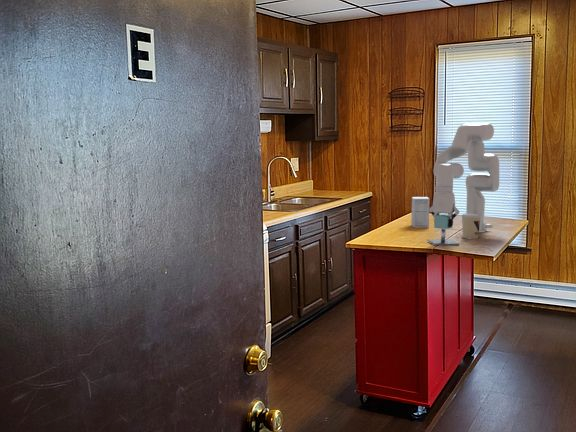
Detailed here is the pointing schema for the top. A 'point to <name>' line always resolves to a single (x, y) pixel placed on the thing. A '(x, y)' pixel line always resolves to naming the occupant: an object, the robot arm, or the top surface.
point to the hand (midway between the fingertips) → (443, 226)
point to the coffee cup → (470, 225)
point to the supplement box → (420, 212)
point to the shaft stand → (443, 240)
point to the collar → (441, 221)
